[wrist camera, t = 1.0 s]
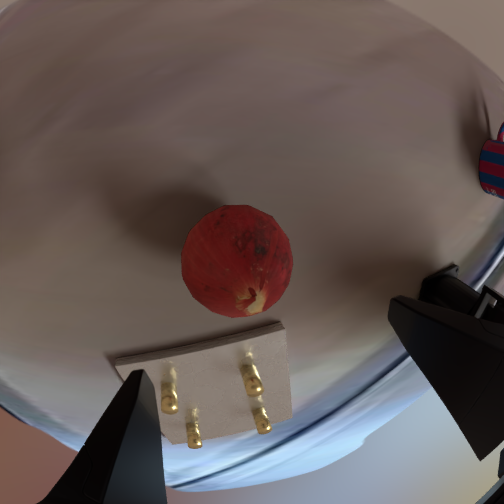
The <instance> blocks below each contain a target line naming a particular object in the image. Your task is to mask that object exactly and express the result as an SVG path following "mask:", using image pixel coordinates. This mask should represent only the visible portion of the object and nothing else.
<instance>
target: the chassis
mask: <svg viewBox="0 0 504 504" xmlns="http://www.w3.org/2000/svg"><path fill="white" fill-rule="evenodd" d="M115 367H116V369H117V371H118V372H119V374H120V375H121V377H122V378H123V380H124V381H125V380H126V379H127V377H128V376H129V374H130V373H131V371H133V370H137V369H144V370H145V371H146V373H147V374H148V376H149V378H150V380H151V381H152V383H153V385H154V388H155V393H156V401H157V408H158V414H159V420H160V427H161V432H162V433H163V434H164V435H165V436H166V438H167V439H168V440H169V441H170V442H171V443H172V445H173V444H181V443H188V447H189V448H192V449H198V448H201V447H202V441H201V440H206V439H212V438H217V437H222V436H227V435H231V434H236V433H240V432H244V431H248V430H252V429H256V428H257V431H258V433H259V434H266V433H269V432H270V431H271V430H272V427H271V424H274V423H277V422H281V421H284V420H287V419H290V418H292V405H291V392H290V379H289V367H288V355H287V344H286V333H285V328H284V326H283V324H282V322H278V323H275V324H271V325H267V326H264V327H260V328H256V329H253V330H249V331H245V332H241V333H237V334H233V335H229V336H225V337H221V338H217V339H212V340H208V341H204V342H199V343H195V344H190V345H185V346H181V347H176V348H171V349H166V350H160V351H155V352H150V353H144V354H138V355H133V356H126V357H120V358H116V363H115Z"/></svg>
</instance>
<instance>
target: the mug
mask: <svg viewBox="0 0 504 504" xmlns="http://www.w3.org/2000/svg"><path fill="white" fill-rule="evenodd" d="M503 135H504V122H503V123H502V125H501V127H500V129H499V132H498V136H497V140H488V141H486V142H485V144H484V146H483V148H482V151H481V155H480V161H479V176H480V182H481V186H482V188H483V190H484V191H485V192H486V193H488V194H491V195H493V196H496V197H499V198H501V199H504V142H503Z"/></svg>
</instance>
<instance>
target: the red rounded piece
mask: <svg viewBox="0 0 504 504" xmlns="http://www.w3.org/2000/svg"><path fill="white" fill-rule="evenodd" d="M181 263H182V277H183V280H184V282H185V284H186V286H187V287H188V289H189V291H190V293H191V294H192V296H193V298H195V299H196V300H197V301H198V302H200V303H201V304H202V305H204V306H205V307H206V308H208V309H209V310H210V311H212V312H214V313H218V314H221V315H224V316H228V317H231V318H235V317H246V316H252V315H255V314H258V313H261V312H263V311H266V310H267V309H268V308H270V307H271V306H272V305H273V304H275V303H276V302H277V301H278V300H279V299H280V298H281V296H282V294H283V293H284V291H285V290H286V288H287V286H288V285H289V281H290V277H291V272H292V266H293V257H292V253H291V248H290V243H289V239H288V238H287V236H286V234H285V233H284V232H283V230H282V229H281V228H280V226H279V225H278V223H277V222H276V221H275V219H274V218H273V217H272V216H270V215H268V214H266V213H264V212H262V211H260V210H258V209H256V208H253V207H251V206H249V205H224V206H222V207H220V208H218V209H216V210H214V211H212V212H210V213H208V214H206V215H205V216H204V217H203V218H202V219H201V220H200V221H199V222H198V223H197V224H196V225H195V226H194V227H193V228H192V229H191V230H190V232H189V233H188V236H187V239H186V241H185V244H184V247H183V250H182V252H181Z"/></svg>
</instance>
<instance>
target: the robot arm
mask: <svg viewBox="0 0 504 504" xmlns="http://www.w3.org/2000/svg"><path fill="white" fill-rule="evenodd" d="M458 272H459V266H458V265H454V266H452V267H450V268H447V269H445V270H443V271H441V272H439V273H437V274H434V275H432V276H430V277H428V278H426V279H425V280H424V281H423V284H422V289H421V294H420V299H419V300H415V299H412V298H408V297H405V296H402V295H399V296H396V297H394V298H392V299H391V300H390V305H389V311H388V320H389V322H390V324H391V325H392V327H393V329H394V330H395V332H396V334H397V335H398V337H399V339H400V340H401V342H402V344H403V346H404V347H405V349H406V350H407V352H408V353H409V355H410V356H411V357H412V359H413V360H414V362H415V363H416V364H417V366H418V367H419V368H420V370H421V371H422V373H423V374H424V375H425V377H426V378H427V380H428V381H429V383H430V384H431V385H432V387H433V388H434V390H435V391H436V393H437V394H438V396H439V397H440V399H441V400H442V401H443V403H444V405H445V406H446V407H447V409H448V410H449V412H450V413H451V415H452V417H453V418H454V420H455V421H456V423H457V425H458V426H459V428H460V430H461V431H462V433H463V434H464V436H465V438H466V439H467V441H468V443H469V444H470V446H471V447H472V449H473V451H474V453H475V454H476V456H477V458H478V459H479V460H480V461H481V460H482V459H484V458H485V457H486V456H487V455H488V454H490V453H491V452H492V451H493V450H494V449H495V448H496V447H497V446H498V445H499V444H500V443H501V442H502V441H503V440H504V296H503V295H501V294H500V293H498V292H497V291H495V290H494V289H492V288H490V287H488V286H486V285H484V286H483V288H482V292H481V294H480V293H478V292H477V291H475V290H474V289H472V288H471V287H469V286H468V285H466V284H465V283H463V282H462V281H460V280H459V279H457V276H458ZM496 300H497V303H496V305H495V306H494V305H493V304H494V302H495V301H496ZM84 444H85V445H83V446H82V448H81V449H80V451H79V453H78V454H77V456H76V457H75V459H74V460H73V462H72V463H71V465H70V466H69V467H68V469H67V470H66V471H65V473H64V474H63V475H62V477H61V478H60V479H59V481H58V482H57V483H56V484H55V486H54V487H53V488H52V490H51V491H50V492H49V494H48V495H47V496H46V497H45V498H44V499H43V500H42V501H40V502H39V503H37V504H167V497H166V489H165V480H164V469H163V457H162V442H161V427H160V420H159V414H158V408H157V401H156V393H155V388H154V385H153V383H152V381H151V380H150V378H149V376H148V374H147V373H146V371H145V370H144V369H137V370H133V371H131V373H130V374H129V376H128V377H127V379H126V380H125V382H124V383H123V385H122V386H121V388H120V389H119V391H118V392H117V394H116V395H115V397H114V398H113V400H112V401H111V403H110V404H109V406H108V407H107V409H106V410H105V412H104V413H103V415H102V416H101V418H100V420H99V421H98V423H97V424H96V426H95V427H94V429H93V430H92V432H91V434H90V435H89V437H88V438H87V440H86V442H85V443H84ZM498 477H499V478H500V479H499V481H498V482H497V483H496V484H495V485H494V486H493V487H492V488H491V489H490V490H489V491H488V492H487V493H486V494H485V495H484V496H483V497H482V498H481V499H480V500H479V501H477V502H476V503H475V504H504V448H503V449H502V451H501V452H500V462H499V470H498Z"/></svg>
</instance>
